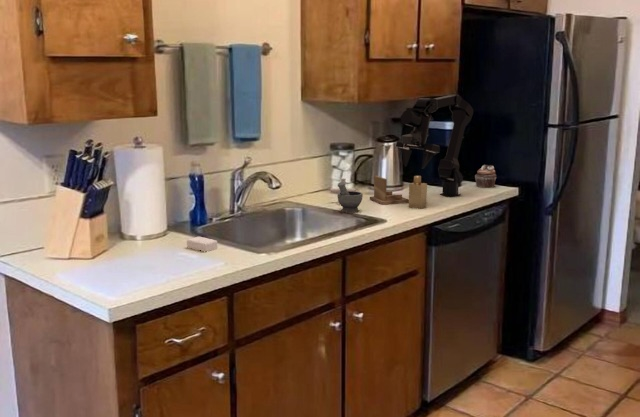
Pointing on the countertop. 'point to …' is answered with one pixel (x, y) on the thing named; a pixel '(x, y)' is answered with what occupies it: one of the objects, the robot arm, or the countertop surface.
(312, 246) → the countertop surface
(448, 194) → the robot arm
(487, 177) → the cupcake
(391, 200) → the bronze stepped stand
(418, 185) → the bronze perfume bottle
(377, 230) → the countertop surface
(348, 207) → the mortar and pestle
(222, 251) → the countertop surface
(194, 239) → the soap
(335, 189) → the pipe connector
